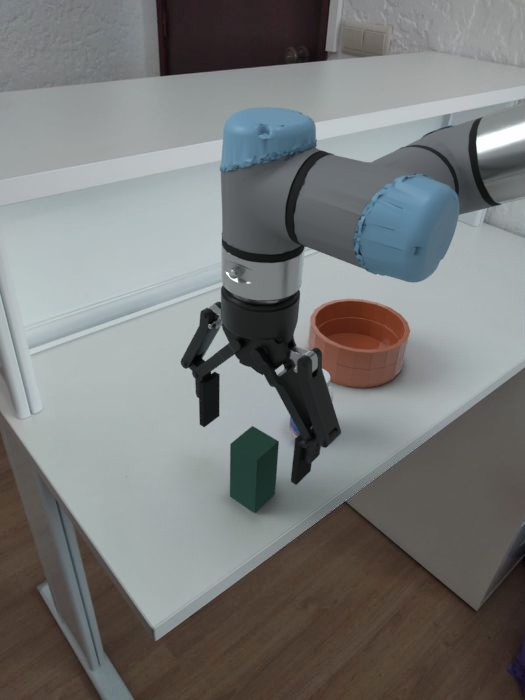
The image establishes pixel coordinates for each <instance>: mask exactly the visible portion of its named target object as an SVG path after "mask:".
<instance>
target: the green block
mask: <svg viewBox="0 0 525 700" xmlns="http://www.w3.org/2000/svg"><path fill="white" fill-rule="evenodd" d="M279 444H280V442H279V440H277V439H276V438H275V437H272V436H270V435H269V434H267V433H265V432H264V431H262V430H261V429H259V428H257V427H255V426H253V425H251V426H250V427H249V428H247V430H245V431H244V432H243V433H242V434H240V435H239V436H238V437H237V438H236V439H234V440H233V441H232V442H231V443H229V450H230V451H229V497H230V498H232V499H233V500H235V502H238V503H239V504H241V506H243V507H245V508H246V509H248V510H249V511H250V512H251V513H253V514H256V513H257V512H258V511H259V510H260V509H261V508H262V507H263V506H264V505H265V504H266V503H267V502H268V501H269V500H270V499H272V497H273V496H274V495H276V487H277V486H276V485H277V472H278V471H277V470H278V458H279Z"/></svg>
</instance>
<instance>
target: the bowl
mask: <svg viewBox="0 0 525 700" xmlns="http://www.w3.org/2000/svg"><path fill="white" fill-rule="evenodd" d="M410 334H411V329H410V325H409V322H408V320H406V319H405V318H404V316H403V315H402V314H401V313H399V312H398V311H396V310H395V309H393V308H392V307H390V306H387V305H385V304H382V303H380V302H377V301H372V300H367V299H363V298H341V299H334V300H331V301H327V302H324V303H322V304H320V305H319V306H317V307H316V308H315V309H313V312H312V314H311V315H310V317H309V325H308V336H307V345H306V350H307V351H310V350H311V349H312V348H314V347H316V348H319V349H320V350H321V352H322V369H325V370H326V371H327V372H328V373H329V374H330V382H333V383H335V384H338V385H342V386H346V387H349V388H364V389H365V388H366V389H367V388H374V387H379V386H383V385H385V384H387V383H389V382H390V381H392V380H393V379H394V378H395V377H396V376H397V375H398V374H400V372H401V371H402V368H403V366H404V361H405V357H406V352H407V348H408V343H409V339H410Z"/></svg>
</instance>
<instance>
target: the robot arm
mask: <svg viewBox="0 0 525 700" xmlns="http://www.w3.org/2000/svg"><path fill="white" fill-rule="evenodd" d="M317 142H318V139H317V127H316V124H315V121H314V119H313V118H312V117H310V116H309V115H307V114H304V113H303V112H301V111H299V110H295V109H290V108H285V107H284V108H283V107H271V106H270V107H269V106H265V107H264V106H262V107H261V106H260V107H250V108H245V109H241V110H238V111H235V112H234V113H232V114H231V115H230V116H229V117H228V118H227V119H226V121H225V122H224V126H223V132H222V147H221V161H220V165H219V172H220V190H221V192H220V193H221V195H220V196H221V221H222V222H221V229H222V231H221V284H222V286H221V289H220V301H216V302H214V303H212V304H211V305H208V306H207V307H205V308H203V309H202V310H201V311H200V312H199V324H198V327H197V328H196V331H195V333H194V335H193V336H192V338H191V340H190V342H189V344H188V346H187V348H186V350H185V352H184V353H183V355H182V358H181V359H180V366H181V367H182V368H183V369H185V370H188V369H189V370H191V374H192V377H193V378H194V381H195V382H194V387H195V395H196V398H198V411H199V412H198V413H199V415H198V416H199V426H201V427H203V428H206V427H207V426H208V425H209V424H211V423H212V422H214V421H215V420H217V419H218V418H219V417H220V390H221V389H220V387H221V386H220V380H221V379H220V377H221V376H220V375H221V374H220V373H218V372H217V371H214V370H215V369H217V368H218V367H219V366H221V365H222V364H224V363H225V362H227V361H229V360H230V359H231V358H233V356H235V358H236V359H237V360H238V361H239V362H238V363H239V364H241V365H242V366H244V367H248V368H251V369H252V370H254V372H255V373H257V374H259V375H262V376H264V378H265V380H266V382H267V384H268V385H269V386H270V387H271V388H274V389H275V391H276V392H277V394H278V396H279V397H280V399H281V401H282V403H283V405H284V407H285V408H286V411H287V412H288V415H289V417H290V416H291V418H292V420H293V422H294V423H295V425H296V427H297V429H298V431H299V433H300V435H299V436H298V437H294V438H295V439H294V445H293V446H294V447H293V448H294V449H293V456H292V465H291V474H290V475H291V476H290V483H292V484H293V485H295V486H297V485H298V484H299V483H300V482H301V481H302V480H304V478H306V476H307V475H308V474H309V473H310V472H311V469H312V463H313V462H314V461H316V459H317V458H318V457H319V456H320V453H321V448H324V449H326V448H328V447H329V446H330V445H331V444H332V443H333V442H334V441H335V440H336V439H337V438H338V437H339V436H340V435H341V434H342V429H341V427H340V423H339V420H338V417H337V414H336V413H337V412H336V410H335V406H334V404H333V400H331V397H330V394H329V390H328V387H327V384H326V381H325V377H324V374H323V371H322V352H321V350H320V349H319V348H316V347H314V348H312V349H311V350H310V351H307V349H304V348H302V347H299V346H297V343H296V341H295V335H294V334H295V331H296V328H297V324H298V321H299V310H300V300H301V289H300V288H301V287H302V283H303V282H302V281H303V273H304V259H305V249H306V248H309V249H311V250H314V251H316V252H319V253H321V254H324V255H326V256H329V257H331V258H334V259H337V260H338V261H339V260H340V261H343V262H345V263H347V264H350V265H353V266H355V267H357V268H360V269H362V270H365V271H366V272H368V273H371V274H372V275H376V276H377V275H379V276H382V277H385V276H386V277H389V278H393V279H397V280H401V281H404V282H406V283H420V282H423V281H425V280H427V279H428V278H429V277H431V276H432V275H433V274H434V273H435V271H436V270H437V269H438V267H439V265H440V262H441V261H443V260H444V259H445V256H446V255H447V253H448V251H449V248H450V246H451V243H452V241H453V238H454V236H455V233H456V229H457V225H458V221H459V216H460V215H463V214H468V213H473V212H477V211H481V210H485V209H490V208H493V207H497V206H501V205H504V204H508V203H513V202H517V201H521V200H525V101H522V102H518V103H516V104H514V105H511V106H508V107H505V108H502V109H499V110H496V111H494V112H490V113H487V114H485V115H484V116H482V117H478V118H475V119H470V120H468V121H465V122H462V123H458V124H453V125H452V124H449V125H445V126H442V127H439V128H437V129H435V130H432V131H430V132H427V133H426V134H424V135H423V136H421V137H420V138H419V139H417V140H414V141H413V142H411V143H408V144H407V145H405V146H402V147H399V148H398V149H395V150H394V151H392V152H390V153H387V154H385V155H383V156H380V157H379V158H377V159H374V160H373V161H362V160H358V159H353V158H349V157H344V156H340V155H336V154H334V153H331V152H327V151H325V150H321V149H319V148H317V146H318V145H317V144H318V143H317ZM221 328H222V332H223V334H224V336H225V337H226V339H227V341H228V343H227V344H226V345H224V346H223V347H221V349H219V350H218V351H217V352H216V353H214V354H213V355H212V356H210V357H209V358H207V359H206V360H205V359H203V358H204V356H205V355H206V354H207V352H208V350H209V348H210V346H211V344H212V343H213V341H214V340H215V338H216V336H217V334H218V333H219V331H220V329H221ZM281 366H283V370H282V371H280V372H278V373H277V371H276V370H278V369H279V368H280V367H281ZM212 371H213V372H212Z"/></svg>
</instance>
